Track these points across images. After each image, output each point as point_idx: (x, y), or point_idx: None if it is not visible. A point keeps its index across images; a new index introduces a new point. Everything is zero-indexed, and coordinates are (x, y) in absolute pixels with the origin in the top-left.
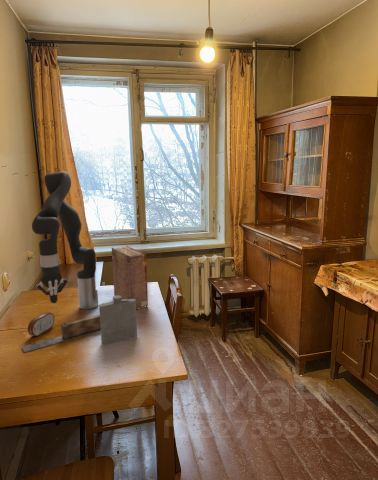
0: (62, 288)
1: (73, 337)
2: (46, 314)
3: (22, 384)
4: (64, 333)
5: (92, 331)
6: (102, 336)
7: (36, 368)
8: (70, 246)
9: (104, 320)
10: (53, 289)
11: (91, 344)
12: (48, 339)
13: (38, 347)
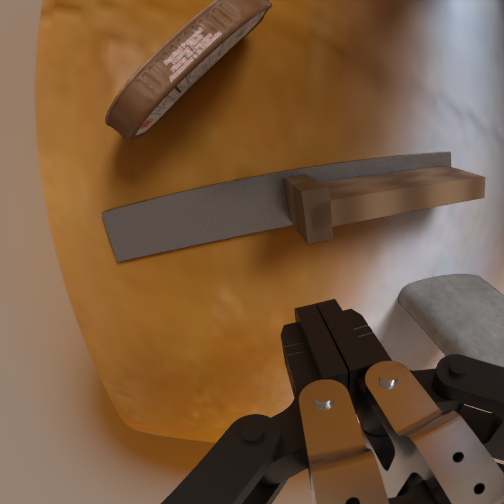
0: (477, 426)
1: None
2: (222, 35)
3: (153, 413)
4: (298, 230)
5: None
6: (414, 318)
7: (177, 371)
8: None
9: None
10: (394, 430)
11: (370, 292)
12: (216, 185)
13: (171, 248)
